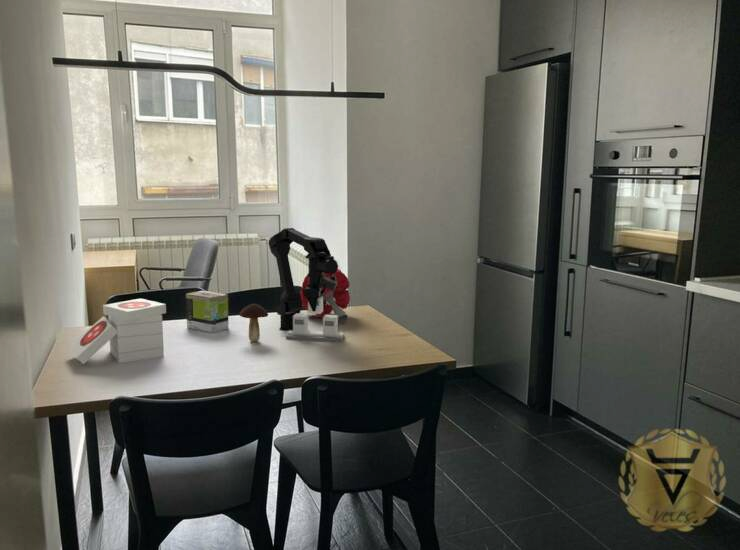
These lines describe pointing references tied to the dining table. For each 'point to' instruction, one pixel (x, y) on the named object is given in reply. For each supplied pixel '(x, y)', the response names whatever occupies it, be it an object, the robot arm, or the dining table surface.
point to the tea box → (207, 311)
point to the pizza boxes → (125, 332)
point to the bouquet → (339, 295)
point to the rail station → (302, 332)
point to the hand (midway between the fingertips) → (315, 309)
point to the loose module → (319, 306)
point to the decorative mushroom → (253, 319)
